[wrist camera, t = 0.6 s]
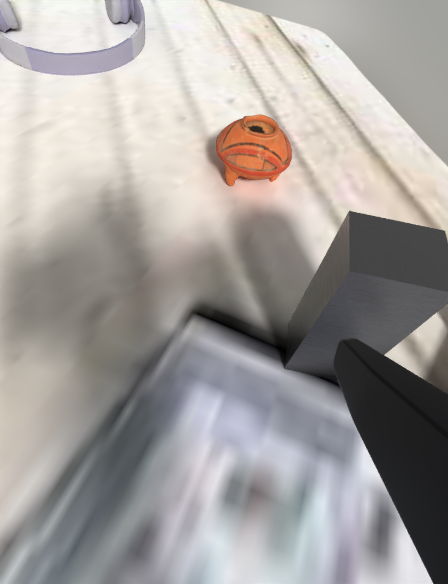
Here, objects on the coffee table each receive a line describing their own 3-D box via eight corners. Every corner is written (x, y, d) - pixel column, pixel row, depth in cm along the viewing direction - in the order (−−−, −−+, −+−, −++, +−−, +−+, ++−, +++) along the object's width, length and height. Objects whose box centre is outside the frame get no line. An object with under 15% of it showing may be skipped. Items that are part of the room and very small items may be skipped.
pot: (199, 154, 39) (217, 93, 34) (260, 162, 42) (284, 107, 37) (218, 202, 35) (242, 139, 29) (284, 207, 38) (315, 151, 33)
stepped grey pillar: (349, 383, 26) (458, 294, 16) (284, 368, 26) (349, 271, 16) (348, 323, 29) (441, 214, 18) (290, 310, 29) (348, 195, 19)
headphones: (-17, 18, 52) (2, 95, 44) (-43, -44, 46) (-25, 33, 38) (128, 9, 59) (168, 76, 51) (123, -46, 53) (168, 20, 45)
